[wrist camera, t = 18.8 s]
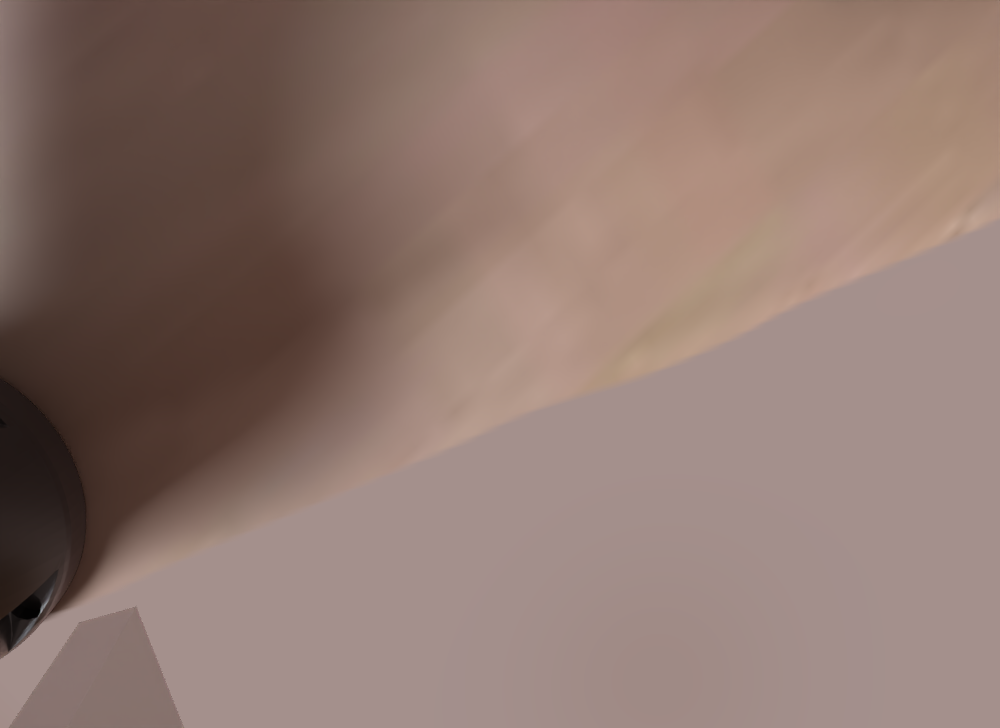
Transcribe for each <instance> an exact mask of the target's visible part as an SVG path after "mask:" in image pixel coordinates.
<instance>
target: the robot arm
mask: <svg viewBox="0 0 1000 728" xmlns="http://www.w3.org/2000/svg"><path fill="white" fill-rule="evenodd" d="M85 532H86V510H85V501H84V495H83V490H82V485H81V482H80V479H79V475H78V472H77V470H76V467H75V464H74V462H73V460H72V458H71V455H70V453H69V451H68V449H67V448H66V446H65V444H64V442H63V441H62V439H61V438H60V436H59V435H58V433H57V432H56V430H55V429H54V427H53V426H52V425H51V424H50V422H49V421H48V420H47V418H46V417H45V416H44V415H43V414H42V413H41V412H40V411H39V410H38V409H37V408H36V407H35V406H34V405H33V404H32V403H31V402H30V401H29V400H28V399H27V398H26V397H25V396H23V395H22V394H21V393H20V392H19V391H17V390H16V389H15V388H13V387H12V386H10V385H9V384H8V383H6V382H5V381H3V380H2V379H0V659H1V658H3V657H4V656H6V655H7V654H8V653H10V652H11V651H12V650H14V649H15V648H16V647H18V646H19V645H20V644H21V643H22V642H24V641H25V640H26V639H27V638H28V637H29V636H30V635H31V634H32V633H33V632H34V631H35V630H36V629H37V628H38V626H39V625H40V624H41V623H42V622H43V620H44V619H45V618H46V617H47V616H48V614H49V613H50V612H51V611H52V609H53V608H54V607H55V606H56V605H57V603H58V602H59V601H60V599H61V598H62V596H63V595H64V594H65V592H66V590H67V589H68V587H69V585H70V583H71V581H72V579H73V577H74V575H75V573H76V570H77V568H78V565H79V562H80V558H81V555H82V551H83V546H84V540H85ZM9 728H184V727H183V724H182V721H181V719H180V716H179V714H178V711H177V709H176V706H175V704H174V701H173V699H172V696H171V694H170V691H169V688H168V686H167V683H166V681H165V678H164V676H163V673H162V671H161V668H160V666H159V663H158V661H157V658H156V655H155V653H154V651H153V648H152V646H151V643H150V640H149V638H148V635H147V633H146V630H145V627H144V625H143V622H142V620H141V617H140V615H139V612H138V610H137V608H136V607H133V608H129V609H126V610H123V611H119V612H116V613H112V614H108V615H105V616H101V617H98V618H94V619H91V620H87V621H84V622H80V623H79V624H78V625H77V627H76V629H75V630H74V631H73V633H72V634H71V636H70V637H69V639H68V640H67V642H66V643H65V645H64V646H63V648H62V649H61V651H60V652H59V654H58V656H57V657H56V658H55V660H54V661H53V663H52V664H51V666H50V667H49V669H48V670H47V672H46V673H45V675H44V676H43V678H42V679H41V681H40V682H39V684H38V685H37V686H36V688H35V689H34V691H33V692H32V694H31V695H30V697H29V698H28V700H27V701H26V703H25V704H24V706H23V708H22V709H21V711H20V712H19V713H18V715H17V716H16V718H15V719H14V721H13V722H12V724H11V725H10V727H9Z"/></svg>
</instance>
